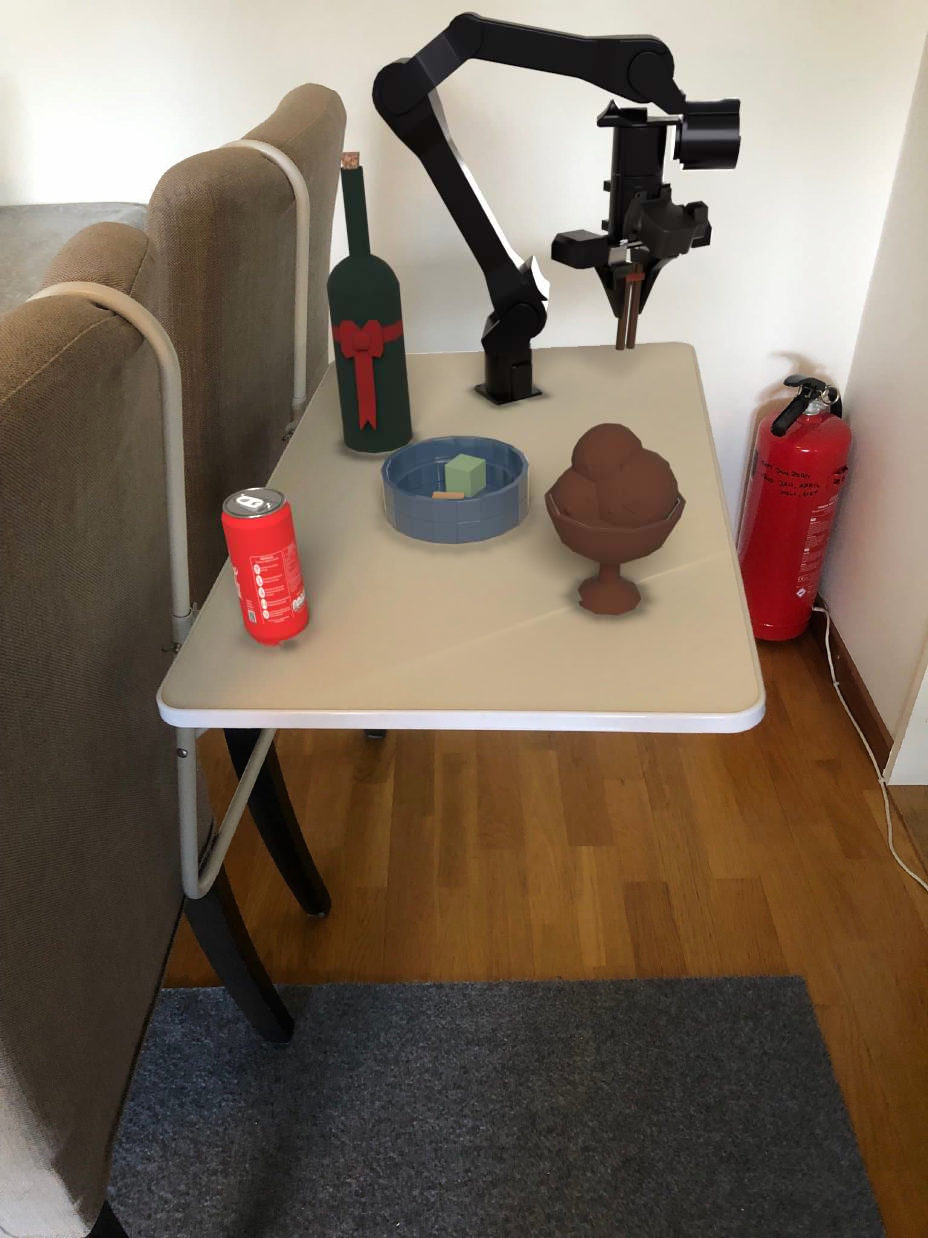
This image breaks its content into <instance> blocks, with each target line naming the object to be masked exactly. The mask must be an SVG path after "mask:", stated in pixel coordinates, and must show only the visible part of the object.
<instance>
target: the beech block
mask: <svg viewBox="0 0 928 1238" xmlns="http://www.w3.org/2000/svg"><path fill="white" fill-rule="evenodd" d="M432 498H445V499H460V498H465V493H458V492H434V493H433V496H432Z"/></svg>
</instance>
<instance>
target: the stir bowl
mask: <svg viewBox="0 0 928 1238" xmlns="http://www.w3.org/2000/svg"><path fill="white" fill-rule="evenodd" d="M460 454H464V455H468V456H472V457H476V458H481V459H485V461H486V487H484V488H483V489H482V490H481V491H479V492H478V493H477V494H475V495H474V496H473V497H465V498H460V499H445V498H432V496H433V493H434V492H446V479H445V465H446V464H447V463H448V462H450V461H451V460H453V459H454V458H455V457H457V456H458V455H460ZM380 478H381V479H380V480H381V486H382V487H381V488H382V497H383V498H382V499H383V508H384V514H385V517H386V521H387V522H388V523H389V525H391V526H392V527H393V528H394V529H395V531H398V532H399V533H402V534H404V535H406V536H408V537H410V538H412V539H416V540H420V541H425V542H429V543H435V544H466V543H473V542H481V541H485V540H489V539H492V538H495V537H498V536H501V535H504V534H506V533H507V532H509V531H511V530H512V529H514V528H516V527H518V526H519V525H520V524H521V523H522V521H523V520H524V519H525V518H526V517H527V516H528V514H529V507H530V462H529V460H528V458H527V456H526V455H525V453H524V452H523V451H521V450H520V449H519V448H517V447H515V446H514V445H512V444H510V443H507V442H504V441H502V440H498V439H495V438H490V437H485V436H478V435H446V436H445V435H444V436H438V437H430V438H425V439H423V440H418V441H415V442H412V443H408V444H407V445H406V446H403V447H401V448H398V449H396V450H394V452H392V454H390V455H389V456H388V457H386V458H385V460H384V462H383V464H382V466H381V469H380Z"/></svg>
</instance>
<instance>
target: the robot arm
mask: <svg viewBox="0 0 928 1238" xmlns="http://www.w3.org/2000/svg"><path fill="white" fill-rule="evenodd" d="M468 60H479V61H484V62H489V63H495V64H501V65H506V66H511V67H516V68H520V69H521V68H522V69H527V70H531V71H537V72H543V73H548V74H552V75H559V76H562V77H569V78H574V79H579V80H582V81H584V82H586V83H589V84H591V85H593V86H595V87H598V88H599V89H600V90H601V89H602V90H603V91H606V92H608V93H610V94H613V95H615V96H618V97H620V98H623V99H625V100H627V101H629V102H632V103H634V104H638V105H648V104H650V103H651V104H654V105H655V106H656V107H658V108H659V109H660V110H661V111H663V112H664V113H665V114H666V115H667V116H657V115H655V116H654V115H653V116H652V115H649V112H648V107H647V106H632V107H631V106H629V107H621V106H620V105H619V104H618V103H617V102H616V100H615V99H614V98H612V99H610V100H609V102H608V104H607V106H606V108H604V110H603V111H602V112H601V113H599V114H598V115H597V116H596V118H595V121H596V126H597V127H598V128H612V146H611V147H612V148H611V164H610V165H611V166H610V179H607V180H606V179H605V180H603V185H602V188H603V189H602V191H603V192H607V193H609V203H608V206H609V207H608V218H606V219H602V220H601V224H600V225H601V226H600V227H601V228H600V229H601V231H605V232H607V234H603V235H601V234H599V233H595V232H592V231H591V230H590V231H589V230H587V229H583V228H580V229H574V230H569V231H563V232H558V233H556V234H555V236H554V237H553V239H552V241H551V244H550V260H551V261H554V262H556V263H559V264H561V265H564V266H567V267H569V268H572V269H574V270H587V269H593V268H594V270H595V273H596V275H597V276H598V279H599V280H600V282H601V284H602V288H603V291H604V292H605V295H606V298H607V300H608V303H609V306H610V308H611V311H612V314H613V316H614V318H616V319H617V320H618V319H621V318H622V317H623V312H624V306H625V291H626V277H627V274H628V272H629V271H630V269H631V268H632V267H633V270H634V263H635V262H643V263H644V267H643V272H644V273H645V278H644V280H642V286H641V295H640V304H639V313H638V316H639V315H642V313H643V311H644V308H645V306H646V304H647V302H648V299H649V297H650V294H651V293H652V289H653V287H654V286H655V283H656V281H657V278H658V277H659V275H660V273H661V271H662V269H663V268H664V267H665V266H666V265H668V264H669V263H670V262H671V261H673V260H675V259H678V258H679V256H680V255H681V256H684V255H687V254H688V253H689V252H690V250H691V249H697V248H698V249H699V248H703V247H707V246H711V245H712V237H713V226H712V224H711V222H710V219H709V206H708V204H706V203H705V202H704V201H703V200H698V201H697V200H696V201H689V202H688V203H686V205H685V204H683V203H681V204H675V203H674V202H673V199H672V193H673V189H672V187H671V185H672V183H671V182H668V181H664V178H665V177H664V176H665V165H666V154H667V142H668V141H667V139H668V129H669V127H672V134H671V144H670V145H671V146H670V160H671V162H677V161H678V165H679V167H680V171H681V172H696V171H698V172H699V171H700V172H701V171H702V172H703V171H707V172H708V171H735V170H736V168H737V164H738V162H739V157H740V149H741V144H742V143H741V142H742V136H741V135H740V132H741V131H740V129H741V114H740V111H741V103H742V102H741V100H740V99H739V97H736V96H735V97H728V96H727V97H723V98H720V99H702V100H701V99H700V100H698V99H697V100H687V94H686V92H685V91H684V89H683V88H681V89H680V88H679V86H678V84H677V83H676V81H675V79H674V77H675V67H676V65H675V59H674V55H673V54H672V51H671V50H670V48H669V46H667V44H666V43H665V42H664V41H663V40H662V39H661V38H659V37H657V36H656V35H653V34H648V33H640V34H639V33H638V34H637V33H635V34H633V33H631V34H607V35H583V34H578V33H572V32H567V31H561V30H556V29H550V28H545V27H540V26H535V25H529V24H524V23H519V22H513V21H509V20H502V19H499V18H492V17H487V16H483V15H482V14H481V15H480V14H479V13H477V12H474V11H464V12H462V13H460V14H458V15H456V16H454V17H453V18H452V19H451V21H450V22H449V24H448V26H447V27H445V28H444V29H443V30H442V31H441V32H440V33H438V34H437V35H436V36H435V37H434V38H433V39H432V40H430V41H429V42H428V43H426V45H424V46H423V47H422V48H421V49H420V50H418V51H417V52H416V53H415V54H414V55H413V56H411V57H408V56H407V57H400V58H398V59H396V60H394V61H391V62H390V63H388V64H386V65H384V66H383V67H382V68H381V69H380V70H379V71H378V72H377V74H376V76H375V78H374V80H373V84H372V89H371V99H372V104H373V106H374V109H375V111H376V112H377V113H378V115H379V116H380V118H381V119H382V120H383V121H384V123H385V125H387V126H388V128H389V129H390V130H391V131H392V132H393V134H394V135H395V136H396V137H397V139H398V140H400V142H401V143H403V145H405V147H407V149H409V150H410V151H411V153H413V154H414V156H416V157H417V159H418V160H419V161H420V163H421V165H422V167H423V168H424V170H425V171H426V173H427V175H428V177H429V180H431V183H432V184H433V186H434V187H435V190H436V191H437V193H438V195H439V197H440V198H441V200H442V202H443V204H444V205H445V207H446V209H447V211H448V212H449V214H450V216H451V218H452V220H453V221H454V223H455V225H456V227H457V228H458V231H459V232H460V235H462V237H463V240H464V241H465V243H466V244H467V245H468V249H469V250H470V251H471V253H472V255H473V257H474V259H475V260H476V262H477V264H478V265H479V267H480V269H481V271H482V274H483V276H484V280H485V284H486V287H487V291H488V295H489V299H490V303H491V305H492V308H493V310H492V311H491V313H490V314H488V316H487V317H486V320H485V324H484V327H483V331H482V334H481V339H480V344H481V346H482V349H483V351H484V353H483V355H484V382H483V383H478V384H475V385H474V390H475V391H476V392H477V393H479V394H480V395H482V396H483V397H485V398H486V399H488V400H490V401H491V402H492V403H494V404H496V405H498V406H502V405H506V404H510V403H514V402H519V401H523V400H526V399H530V398H534V397H539V396H542V395H543V389H541V388H540V387H537V386H536V385H534V384H533V374H534V373H533V372H534V371H533V367H534V365H533V348H532V343H531V341H532V339H535V338H536V337H537V336H539V335H540V334H541V333H542V332H543V330H544V329H545V327H546V325H547V320H548V314H549V302H550V297H549V292H550V282H549V281H548V280H547V279H545V278H544V276H543V274H542V273H541V271H540V269H539V265H538V262H537V259H536V257H535V256H534V255H531V256H530V257H529V258H527V259H526V260H525V261H524V260H523V259H522V258H521V257H520V256H519V255H518V254H517V253H516V252H515V251H514V250H513V248H512V247H511V246H510V243H509V242H508V240H507V238H506V236H505V234H504V232H503V230H502V229H501V227H500V225H499V223H498V221H497V219H496V218H495V216H494V214H493V212H492V210H491V208H490V207H489V205H488V203H487V201H486V199H485V198H484V196H483V194H482V192H481V190H480V188H479V186H478V184H477V182H476V181H475V179H474V176H473V175H472V173H471V171H470V170H469V168H468V165H467V164H466V162H465V160H464V158H463V157H462V155H461V152H460V151H459V149H458V147H457V145H456V144H455V142H454V140H453V138H452V136H451V133H450V130H449V126H448V122H447V119H446V115H445V111H444V107H443V104H442V101H441V98H440V95H439V92H438V89H437V87H438V86H439V85H440V84H442V83H443V82H444V81H445V80H446V79H447V78H448V77H450V76H451V75H452V74H454V72H456V71H457V70H458V69H459V68H460V67H461V66H463V65H464V64H465V63H466V62H467V61H468ZM628 250H629V260H627V254H628V253H627V252H628ZM633 270H632V271H633ZM631 290H632V281H631ZM631 290H630V291H631Z"/></svg>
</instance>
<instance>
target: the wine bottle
mask: <svg viewBox="0 0 928 1238" xmlns="http://www.w3.org/2000/svg"><path fill="white" fill-rule="evenodd" d="M360 155H361V154H360V151H342V152H341V153H340V155H339V156H340V157H339V158H340V160H341V165H342V166H340V167H339V170H340V181H341V190H342V200H343V209H344V218H345V227H346V228H345V229H346V238H347V248H348V256H346V257H344V258H343V259H341V260H340V261H339V262H338V263H337V264H336V265H334V266H333V268H332V270H331V272H330V273H329V275H328V278H327V282H326V293H327V301H328V309H329V317H330V318H329V319H330V326H331V327H330V328H331V335H332V344H333V345H332V346H333V353H334V362H335V370H336V379H337V387H338V397H339V407H340V415H341V423H342V424H341V425H342V431H343V441H344V445H345V446H346V447H347V448H348V449H350V450H353V451H355V452H359V453H367V454H381V453H387V452H388V453H389V452H393V451H396V450H399V449H401V448H403V447H405V446H407V445H409V444H410V441H411V440H413V428H412V415H411V404H410V403H411V402H410V391H409V379H408V370H407V369H408V368H407V367H408V366H407V356H406V344H405V343H406V342H405V332H404V331H405V330H404V322H403V311H402V296H401V284H400V282H399V279H398V277H397V275H396V273H395V271H394V269H393V268H392V267H391V266H390V264H389V263H387V261H386V260H384V259H382V258H381V257H379V256H377V255H376V254H372V253H371V242H370V232H369V220H368V210H367V208H368V207H367V199H366V188H365V177H364V168H363V165H360Z"/></svg>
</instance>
